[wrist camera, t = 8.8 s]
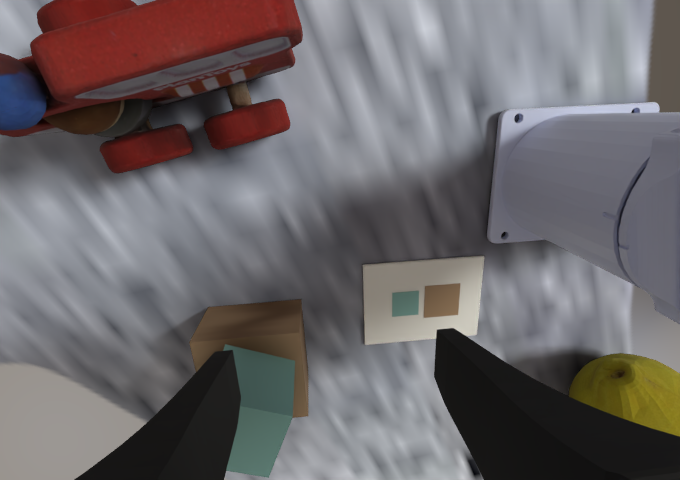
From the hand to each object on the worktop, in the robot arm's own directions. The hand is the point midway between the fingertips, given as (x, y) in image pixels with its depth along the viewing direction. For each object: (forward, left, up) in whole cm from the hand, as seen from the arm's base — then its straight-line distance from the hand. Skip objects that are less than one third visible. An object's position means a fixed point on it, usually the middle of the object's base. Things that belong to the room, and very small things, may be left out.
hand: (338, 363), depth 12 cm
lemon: (-20, +12, -11) cm, 26 cm away
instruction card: (-6, +4, -10) cm, 13 cm away
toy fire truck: (+7, -10, -11) cm, 16 cm away
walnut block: (+5, +6, -11) cm, 13 cm away
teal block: (+5, +6, -7) cm, 10 cm away
